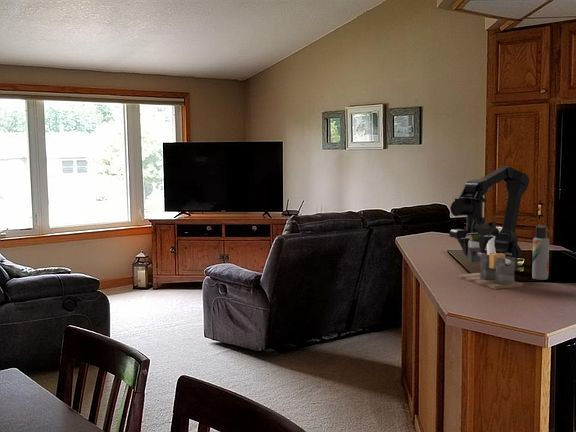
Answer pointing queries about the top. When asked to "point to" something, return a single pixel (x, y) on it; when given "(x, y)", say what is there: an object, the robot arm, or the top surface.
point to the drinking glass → (492, 243)
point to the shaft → (479, 255)
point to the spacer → (494, 259)
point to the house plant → (474, 240)
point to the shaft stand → (494, 274)
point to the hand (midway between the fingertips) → (474, 255)
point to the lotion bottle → (540, 254)
